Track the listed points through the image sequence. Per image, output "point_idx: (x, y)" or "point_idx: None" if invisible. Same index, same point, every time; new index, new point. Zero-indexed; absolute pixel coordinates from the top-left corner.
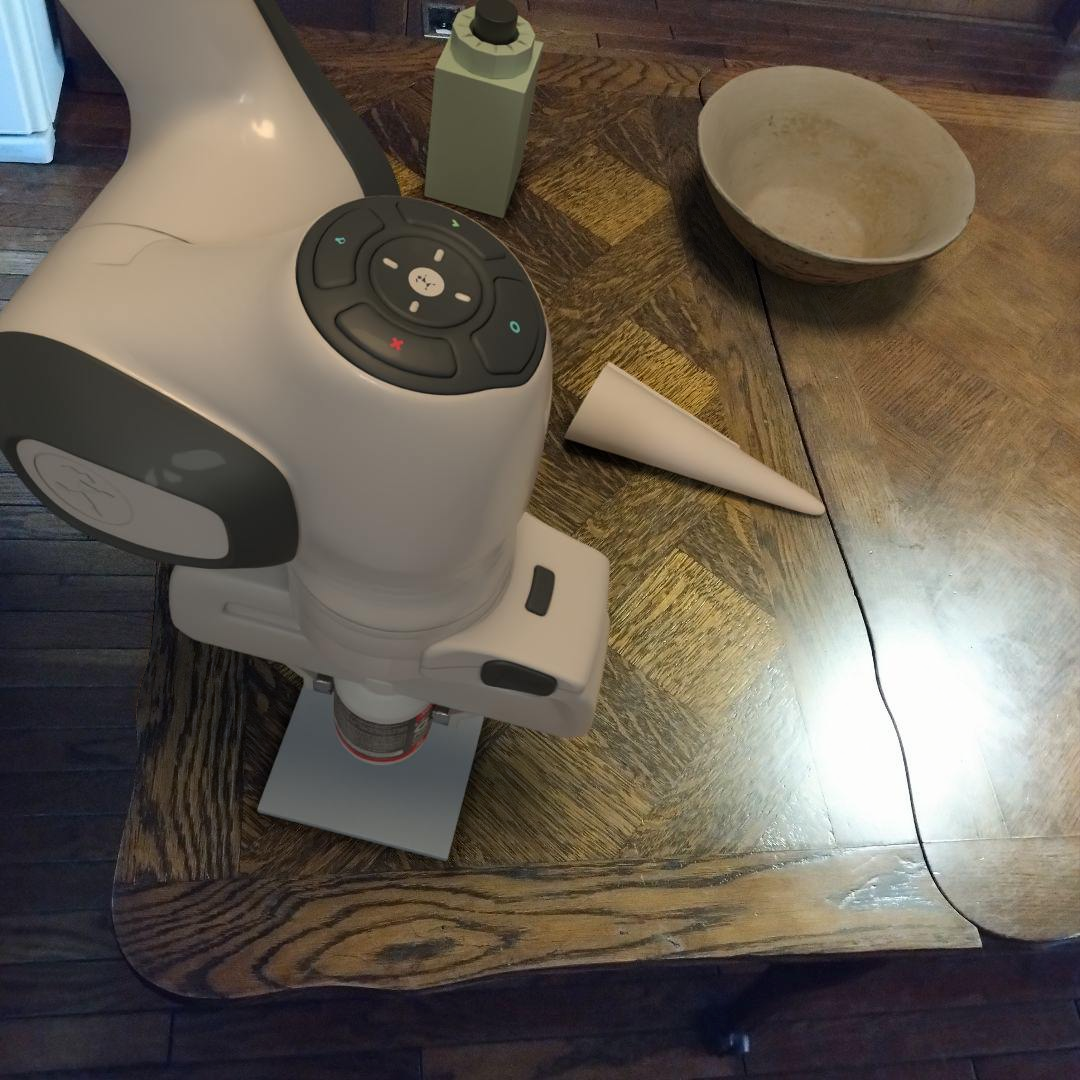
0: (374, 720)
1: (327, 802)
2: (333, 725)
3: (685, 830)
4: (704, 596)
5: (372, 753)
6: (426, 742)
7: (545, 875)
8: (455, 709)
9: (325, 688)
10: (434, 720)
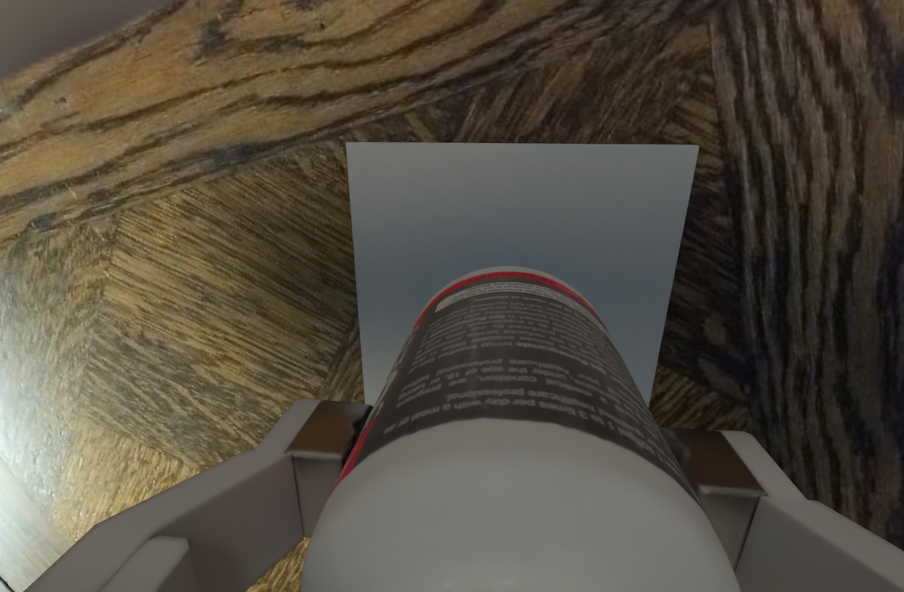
0: (511, 433)
1: (572, 189)
2: None
3: (50, 274)
4: None
5: (506, 288)
6: None
7: (200, 160)
8: (255, 488)
9: (700, 458)
10: (352, 413)
